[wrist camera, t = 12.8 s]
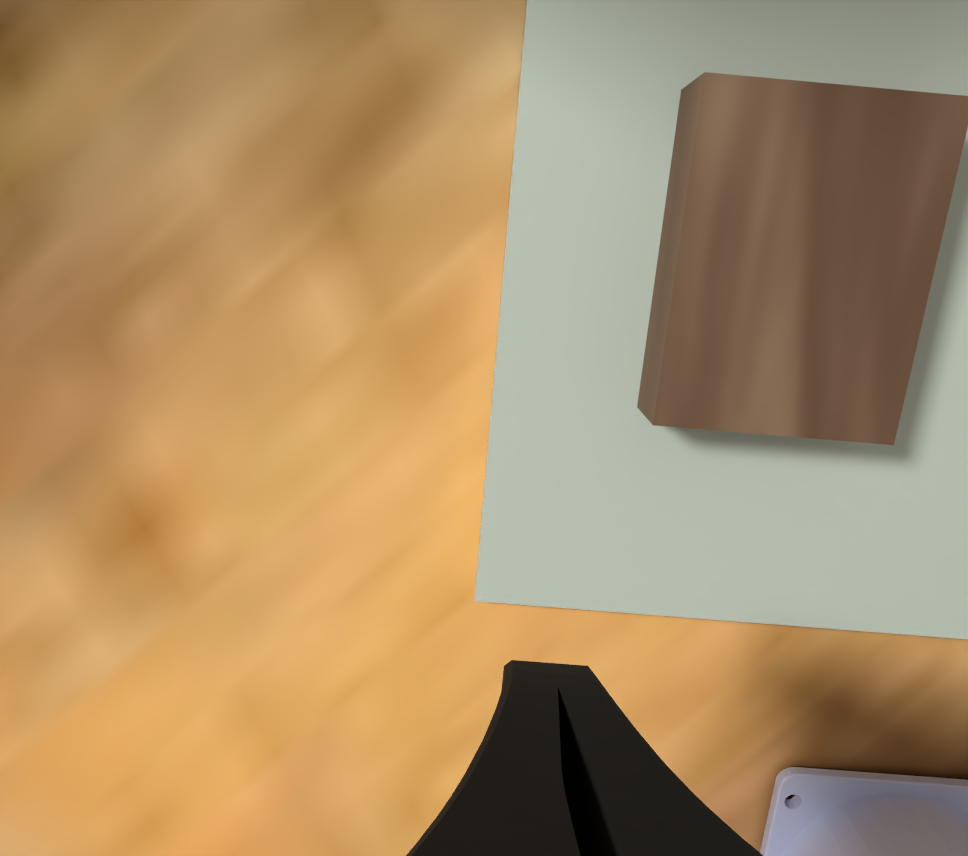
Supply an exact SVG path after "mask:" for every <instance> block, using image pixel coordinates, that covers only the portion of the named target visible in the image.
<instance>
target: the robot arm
mask: <svg viewBox="0 0 968 856" xmlns="http://www.w3.org/2000/svg"><path fill="white" fill-rule="evenodd" d="M790 795H795V796H794V797H793V798H791V799H786V797H788V796H790ZM406 856H968V780H964V779H951V778H937V777H924V776H910V775H897V774H883V773H870V772H856V771H843V770H829V769H816V768H803V767H788V768H786V769H784V770H782V771H781V772H780V773H779V774H778V775H777V778H776V781H775V785H774V790H773V795H772V799H771V804H770V808H769V813H768V818H767V822H766V827H765V832H764V836H763V841H762V846H761V850H760V853H759V852H758V851H757V850H756V849H755V848H753V847H752V846H751V845H750V844H748V843H747V842H746V841H745V840H744V839H742V838H741V837H740V836H739V835H738V834H737V833H736V832H735V831H733V830H732V829H731V828H730V827H729V826H728V825H727V824H726V823H725V822H723V821H722V820H721V819H720V818H719V817H718V816H717V815H716V814H714V813H713V812H712V811H711V810H710V809H709V808H708V807H707V806H706V805H705V804H704V803H703V802H702V801H701V800H700V799H699V798H697V797H696V796H695V795H694V794H693V793H692V792H691V791H690V790H689V789H688V787H687V786H686V785H685V784H684V783H683V782H682V781H681V780H680V779H679V778H678V777H677V776H676V775H675V774H674V773H673V772H672V771H671V770H670V768H669V767H668V766H667V765H666V764H665V763H664V762H663V761H662V760H661V759H660V757H659V756H658V755H657V754H656V753H655V752H654V750H653V749H652V748H651V747H650V746H649V744H648V743H647V742H646V741H645V740H644V738H643V737H642V736H641V735H640V733H639V732H638V731H637V730H636V729H635V727H634V726H633V725H632V724H631V722H630V721H629V720H628V718H627V717H626V716H625V715H624V713H623V712H622V711H621V709H620V708H619V707H618V705H617V704H616V703H615V701H614V700H613V699H612V697H611V696H610V695H609V693H608V692H607V691H606V689H605V688H604V687H603V685H602V684H601V682H600V681H599V680H598V678H597V677H596V676H595V674H594V673H593V672H592V671H591V669H590V668H589V667H588V666H581V665H568V664H555V663H541V662H528V661H515V660H512V661H510V662H509V663H508V664H506V665H505V666H504V673H503V682H502V691H501V695H500V698H499V701H498V704H497V707H496V710H495V713H494V715H493V717H492V720H491V722H490V725H489V727H488V730H487V732H486V734H485V736H484V739H483V741H482V743H481V745H480V747H479V748H478V750H477V752H476V754H475V756H474V758H473V760H472V762H471V764H470V766H469V767H468V769H467V771H466V773H465V775H464V776H463V778H462V780H461V781H460V783H459V785H458V786H457V788H456V789H455V791H454V793H453V794H452V796H451V797H450V799H449V800H448V802H447V803H446V805H445V806H444V807H443V809H442V810H441V812H440V813H439V815H438V816H437V817H436V819H435V820H434V821H433V823H432V824H431V825H430V827H429V828H428V829H427V830H426V832H425V833H424V834H423V836H422V837H421V838H420V840H419V841H418V842H417V843H416V845H415V846H414V847H413V848H412V849H411V851H410V852H409V853H408V854H407V855H406Z"/></svg>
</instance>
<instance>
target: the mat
mask: <svg viewBox="0 0 968 856" xmlns="http://www.w3.org/2000/svg"><path fill="white" fill-rule="evenodd" d="M704 72H709V73H720V74H731V75H742V76H753V77H764V78H775V79H786V80H797V81H808V82H819V83H830V84H841V85H852V86H863V87H874V88H885V89H896V90H907V91H918V92H929V93H940V94H951V95H963V96H968V0H527V6H526V18H525V29H524V40H523V52H522V63H521V74H520V86H519V97H518V108H517V120H516V131H515V143H514V154H513V165H512V177H511V188H510V199H509V211H508V222H507V233H506V245H505V256H504V268H503V279H502V290H501V302H500V313H499V324H498V336H497V347H496V358H495V370H494V381H493V393H492V404H491V415H490V427H489V438H488V449H487V461H486V472H485V483H484V495H483V506H482V518H481V529H480V540H479V552H478V563H477V574H476V586H475V601H479V602H492V603H505V604H518V605H531V606H544V607H557V608H570V609H583V610H596V611H608V612H621V613H634V614H647V615H660V616H673V617H686V618H699V619H712V620H724V621H737V622H750V623H763V624H776V625H789V626H802V627H815V628H828V629H840V630H853V631H866V632H879V633H892V634H905V635H918V636H931V637H944V638H956V639H968V128H967V132H966V137H965V141H964V145H963V150H962V154H961V158H960V163H959V167H958V171H957V176H956V180H955V184H954V188H953V193H952V197H951V201H950V206H949V210H948V214H947V219H946V223H945V227H944V231H943V236H942V240H941V244H940V249H939V253H938V257H937V262H936V266H935V270H934V275H933V279H932V283H931V287H930V292H929V296H928V300H927V305H926V309H925V313H924V318H923V322H922V326H921V331H920V335H919V339H918V343H917V348H916V352H915V356H914V361H913V365H912V369H911V374H910V378H909V382H908V386H907V391H906V395H905V399H904V404H903V408H902V412H901V417H900V421H899V425H898V430H897V434H896V438H895V442H894V445H886V444H874V443H862V442H849V441H837V440H825V439H813V438H801V437H789V436H776V435H764V434H752V433H740V432H728V431H716V430H703V429H691V428H679V427H667V426H655V425H652V424H651V423H650V421H649V420H648V419H647V418H646V417H645V416H644V415H643V413H642V412H641V411H640V410H639V409H638V408H637V403H638V396H639V389H640V382H641V375H642V367H643V360H644V353H645V346H646V339H647V332H648V324H649V317H650V310H651V303H652V296H653V288H654V281H655V274H656V267H657V260H658V253H659V245H660V238H661V231H662V224H663V217H664V209H665V202H666V195H667V188H668V181H669V174H670V166H671V159H672V152H673V145H674V138H675V130H676V123H677V116H678V109H679V102H680V95H681V89H683V88H684V87H685V86H687V85H688V84H689V83H691V82H692V81H693V80H695V79H696V78H697V77H699V76H700V75H701V74H703V73H704Z"/></svg>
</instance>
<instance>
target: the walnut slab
mask: <svg viewBox="0 0 968 856" xmlns="http://www.w3.org/2000/svg"><path fill="white" fill-rule="evenodd" d="M967 128H968V96H963V95H951V94H940V93H929V92H918V91H907V90H896V89H885V88H874V87H863V86H852V85H841V84H830V83H819V82H808V81H797V80H786V79H775V78H764V77H753V76H742V75H731V74H720V73H709V72H704V73H703V74H701V75H700V76H699V77H697V78H696V79H695V80H693V81H692V82H691V83H689V84H688V85H687V86H685V87H684V88H683V89H681V95H680V102H679V109H678V116H677V123H676V130H675V138H674V145H673V152H672V159H671V166H670V174H669V181H668V188H667V195H666V202H665V209H664V217H663V224H662V231H661V238H660V245H659V253H658V260H657V267H656V274H655V281H654V288H653V296H652V303H651V310H650V317H649V324H648V332H647V339H646V346H645V353H644V360H643V367H642V375H641V382H640V389H639V396H638V403H637V408H638V409H639V410H640V411H641V412H642V413H643V415H644V416H645V417H646V418H647V419H648V420H649V421H650V423H651V424H652V425H655V426H667V427H679V428H691V429H703V430H716V431H728V432H740V433H752V434H764V435H776V436H789V437H801V438H813V439H825V440H837V441H849V442H862V443H874V444H886V445H894V442H895V438H896V434H897V430H898V425H899V421H900V417H901V412H902V408H903V404H904V399H905V395H906V391H907V386H908V382H909V378H910V374H911V369H912V365H913V361H914V356H915V352H916V348H917V343H918V339H919V335H920V331H921V326H922V322H923V318H924V313H925V309H926V305H927V300H928V296H929V292H930V287H931V283H932V279H933V275H934V270H935V266H936V262H937V257H938V253H939V249H940V244H941V240H942V236H943V231H944V227H945V223H946V219H947V214H948V210H949V206H950V201H951V197H952V193H953V188H954V184H955V180H956V176H957V171H958V167H959V163H960V158H961V154H962V150H963V145H964V141H965V137H966V132H967Z"/></svg>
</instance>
